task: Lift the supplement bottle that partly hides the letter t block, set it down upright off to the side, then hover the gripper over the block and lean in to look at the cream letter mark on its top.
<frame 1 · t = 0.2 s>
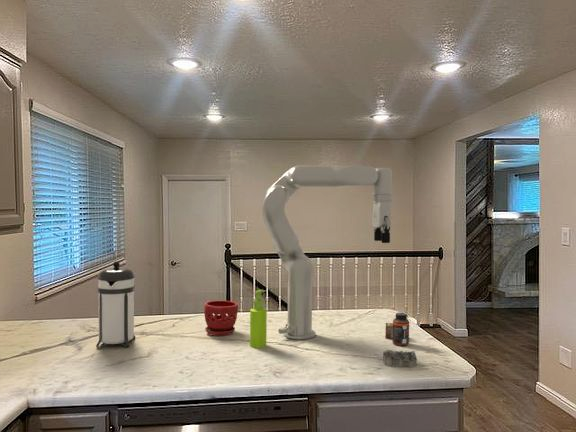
hand: (381, 241, 184), 37 cm above the worktop, tool pointing down, fingers open, 9 cm apart
supplement bottle: (400, 344, 171), on the worktop
soap dispenser: (258, 345, 168), on the worktop
egg carton: (399, 364, 151), on the worktop
letter t block: (392, 337, 179), on the worktop
coffee press: (116, 343, 169), on the worktop
plant pot: (221, 333, 183), on the worktop
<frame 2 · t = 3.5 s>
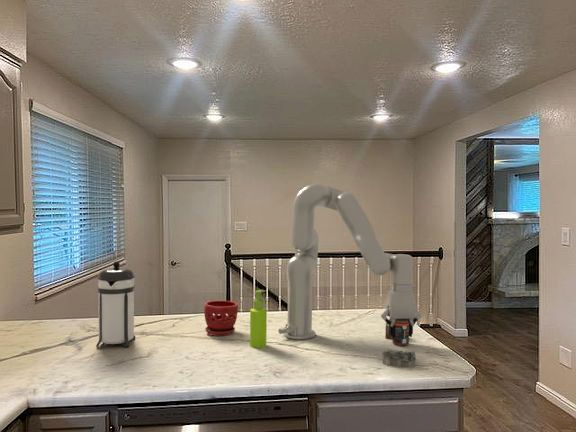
hand: (400, 335, 171), 3 cm above the worktop, tool pointing down, fingers closed on supplement bottle, 6 cm apart
supplement bottle: (400, 344, 171), on the worktop, touching gripper
everything else where it was.
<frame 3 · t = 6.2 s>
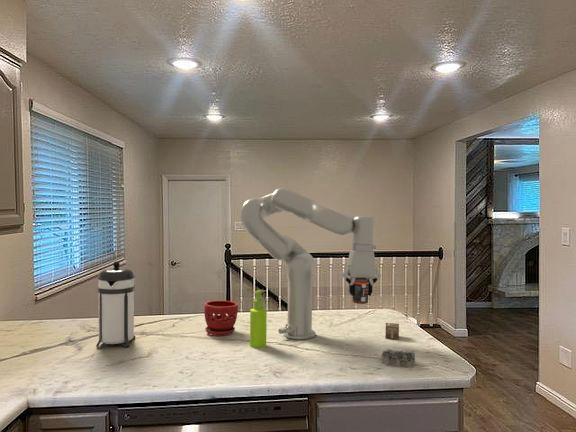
hand: (360, 294, 176), 17 cm above the worktop, tool pointing down, fingers closed on supplement bottle, 6 cm apart
supplement bottle: (360, 303, 176), point 14 cm above the worktop, touching gripper
everything else where it was.
when the fingers open (4 cm above the worktop, at t = 9.2 s): supplement bottle drops 1 cm, on the worktop.
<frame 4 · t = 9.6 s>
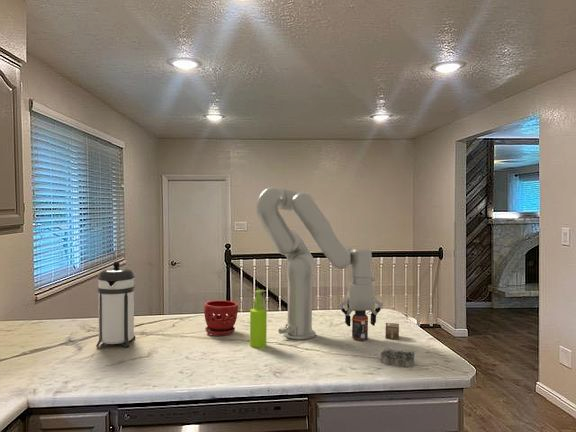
hand: (360, 325, 177), 5 cm above the worktop, tool pointing down, fingers open, 9 cm apart
supplement bottle: (359, 339, 177), on the worktop
everything else where it was.
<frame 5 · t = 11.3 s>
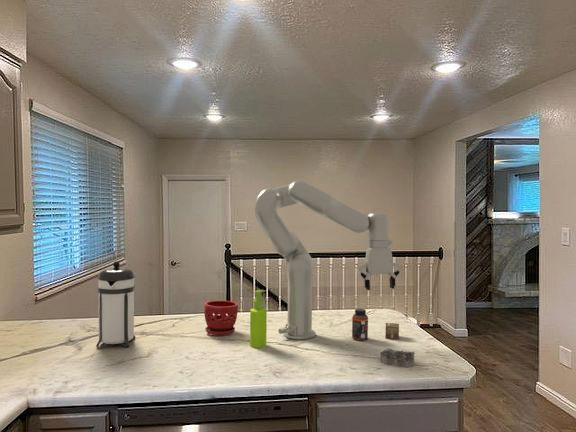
hand: (380, 288, 177), 19 cm above the worktop, tool pointing down, fingers open, 9 cm apart
nothing on the worktop moved.
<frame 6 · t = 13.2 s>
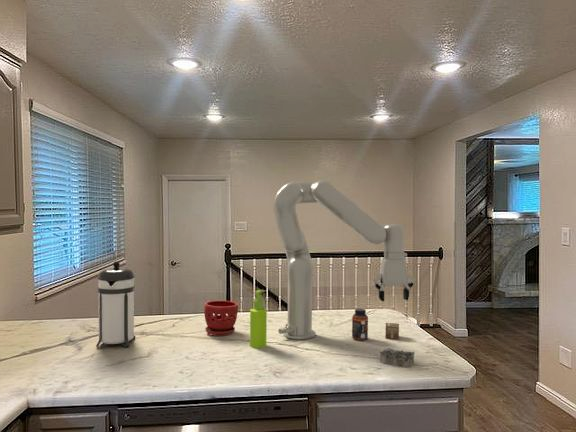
hand: (393, 300, 179), 15 cm above the worktop, tool pointing down, fingers open, 9 cm apart
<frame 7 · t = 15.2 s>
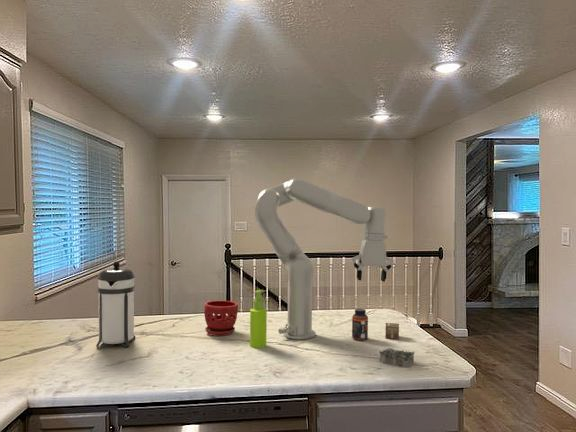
hand: (371, 280, 183), 21 cm above the worktop, tool pointing down, fingers open, 9 cm apart
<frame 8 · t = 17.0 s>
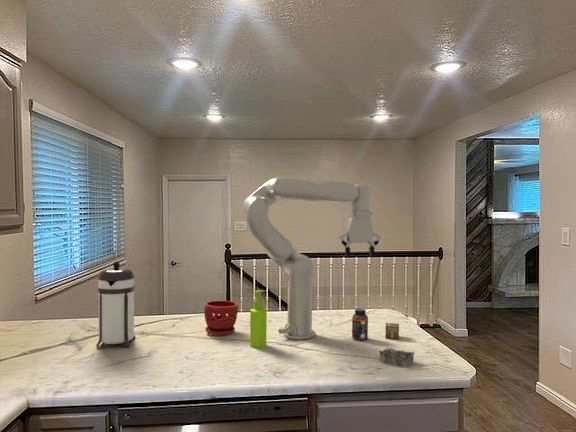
hand: (359, 256, 186), 30 cm above the worktop, tool pointing down, fingers open, 9 cm apart
at the end: supplement bottle moved 15.4 cm from its start; supplement bottle tilted 0°; letter t block moved 0.1 cm from its start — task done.
